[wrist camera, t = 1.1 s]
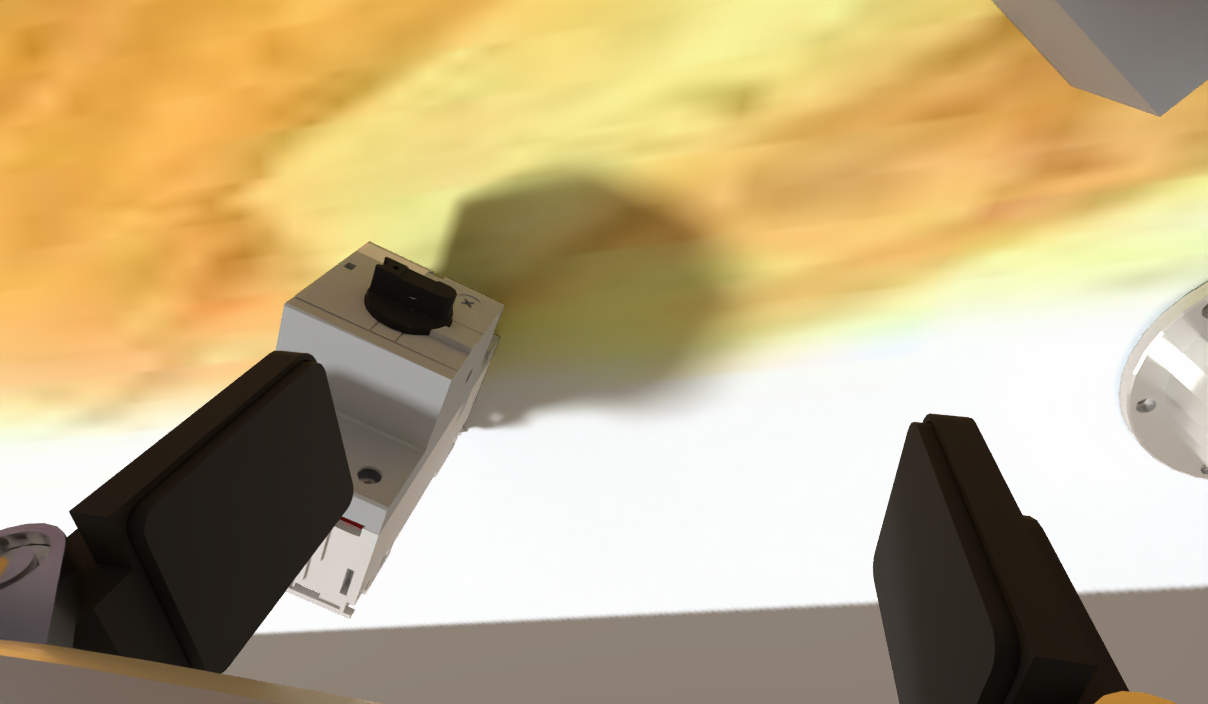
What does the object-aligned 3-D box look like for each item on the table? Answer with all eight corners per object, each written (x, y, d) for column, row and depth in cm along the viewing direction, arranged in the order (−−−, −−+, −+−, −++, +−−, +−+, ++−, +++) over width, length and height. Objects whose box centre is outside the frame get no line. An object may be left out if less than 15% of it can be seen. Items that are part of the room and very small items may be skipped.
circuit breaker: (535, 250, 37) (425, 399, 24) (462, 432, 44) (348, 621, 31) (409, 190, 36) (229, 310, 23) (356, 384, 44) (197, 556, 31)
